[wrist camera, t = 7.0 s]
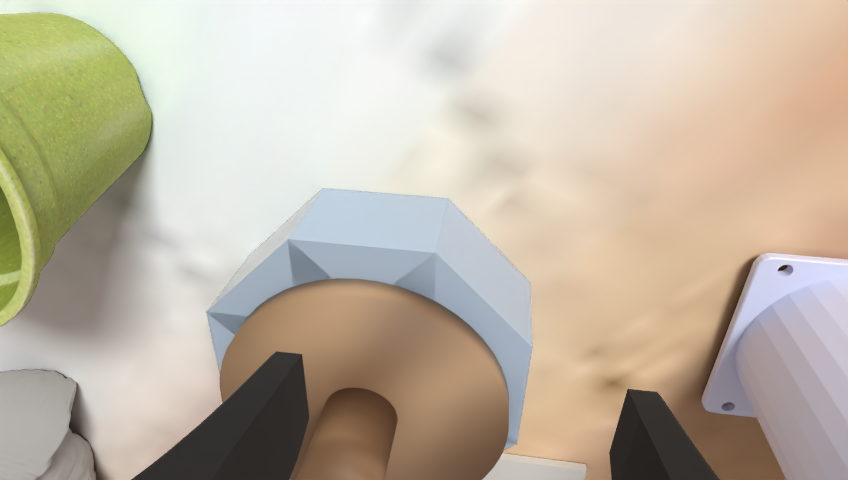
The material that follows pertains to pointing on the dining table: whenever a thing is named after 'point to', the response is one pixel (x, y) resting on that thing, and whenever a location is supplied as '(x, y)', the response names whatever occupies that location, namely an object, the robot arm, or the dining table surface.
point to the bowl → (392, 271)
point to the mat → (535, 469)
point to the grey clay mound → (40, 428)
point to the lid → (380, 382)
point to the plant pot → (58, 137)
